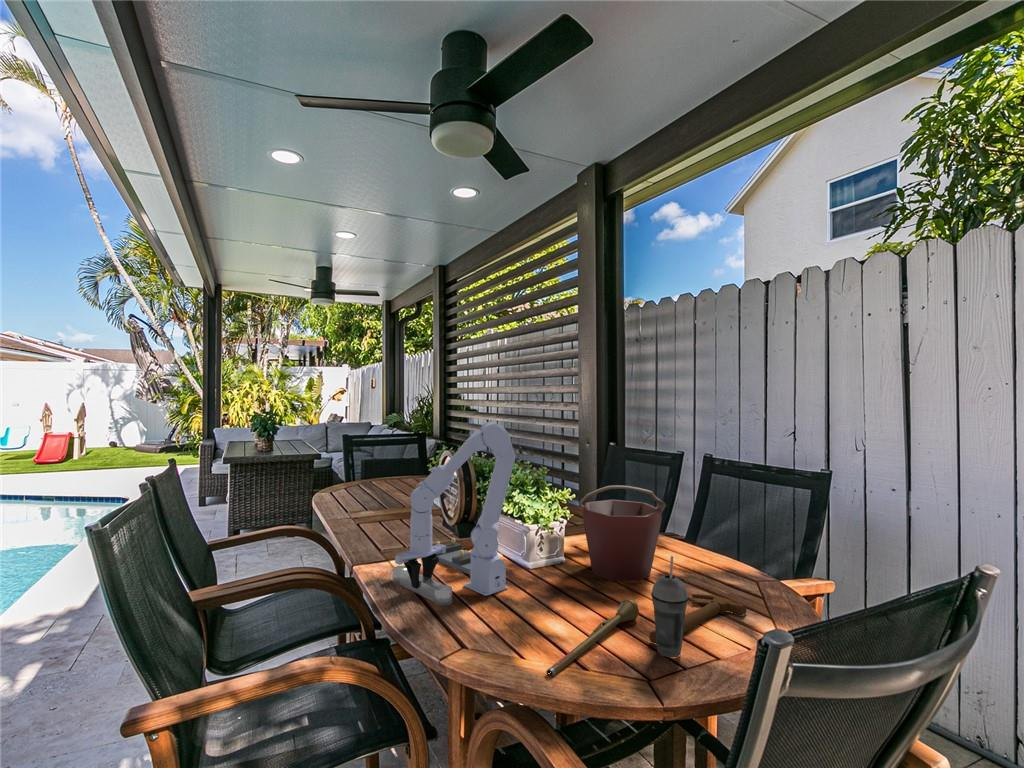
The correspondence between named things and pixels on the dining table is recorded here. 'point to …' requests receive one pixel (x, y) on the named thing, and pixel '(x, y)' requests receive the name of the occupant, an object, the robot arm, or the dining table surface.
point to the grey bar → (424, 586)
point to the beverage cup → (669, 613)
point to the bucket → (621, 535)
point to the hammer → (707, 611)
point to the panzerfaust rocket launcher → (599, 633)
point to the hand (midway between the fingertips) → (420, 585)
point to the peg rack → (455, 557)
